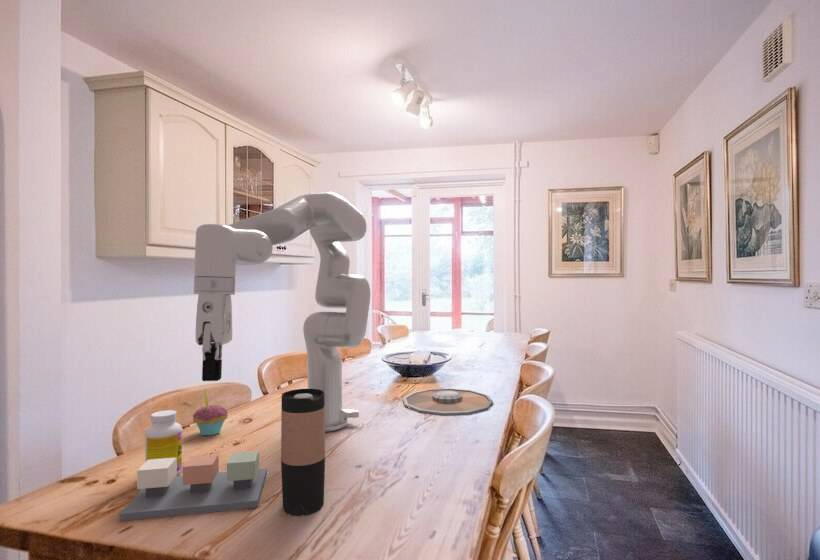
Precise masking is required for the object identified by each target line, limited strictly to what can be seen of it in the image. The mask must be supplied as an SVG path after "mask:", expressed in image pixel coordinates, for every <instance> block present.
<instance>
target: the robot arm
mask: <svg viewBox="0 0 820 560" xmlns="http://www.w3.org/2000/svg"><path fill="white" fill-rule="evenodd" d="M366 221H367V220H366V219H365V217H364V215H363V213H362V212H361V211H360V210H359V209H357V208H356V207H355V206H354V205H353V204H352V203H351V202H349V201H348V200H347V199H346V198H344V196H341V195H339V194H338V193H335V192H332V191H326V192H316V193H308V194H307V193H306V194H302V195H298V196H297V197H295V198H293V199H292V200H289V201H288V202H285V203H283V204H281V205H279V206H277V207H275V208H273V209H270V210H267V211H265V212H261V213H259V214H256V215H253V216H249V217H247V218H244V219H240V220H238V221H236V222H233V223H231V224H228V225H225V224H218V223H217V224H216V223H206V224H201V225H199V226H198V227H197V228H196V232H195V246H194V270H193V271H194V275H193V295H197V303H196V305H197V306H196V318H195V343H196V344H197V345H198V346H202V347H201V352H202V366H201V369H202V370H201V380H202V382H218V381H220V380H222V368H223V367H222V366H223V359H222V357H223V346H225V345H227V344H229V343H230V342H231V341H232V340H233V305H232V295H233V296H234V295H236V293H235V292H236V266H240V265H241V266H248V265H249V266H253V265H255V266H256V265H261V264H262V263H263V264H264V263H265V262H266V261H268V260H269V259H270V258H271V255H272V254H273V251H274V250H273V249H274V247H273V246H275V245H281V244H284V243H288V242H291V241H293V240H294V239H296V238H297V237H300V236H301V235H302V234H304V233H306V232H307V231H308V230H309V233H310V236H311V237H312V240H313V242H314V243H315V245H316V247H317V249H318V252H319V259H320V261H319V267H318V274H317V280H316V286H315V291H314V292H315V294H314V297H315V301H316V304H317V305H318V306H320V307H321V308H322V307H323V308H328V309H345V312H343V311H342V312H340V311H317V312H314V313H311V314H309V316H307V317H306V318H305V320H304V322H303V327H302V331H303V332H302V333H303V336H304V342H305V347H306V348H305V349H306V359H307V360H306V361H307V362H306V363H307V365H306V366H307V367H306V368H307V370H306V371H307V373H306V374H307V385H306V386H307V388H306V389H319V390H322V391H323V392H324V403H325V405H324V406H325V433H326V432H333V431H337V430H341V429H343V428H345V427H347V425H348V421H349V420H348V419H349V418H352V419H355V418H359V415H360V413H359V410H357V409H356V410H354V409H353V408H352V409H346V408H344V405H343V360H342V357H341V355H340V351H338V349H337V347H338V348H356V347H358V346H361V344H362V343H363V341H364V340H365V337H366V332H367V324H368V317H369V310H370V304H371V303H370V302H371V288H370V284H369V281H368V280H367V278H366V277H364V276H363V275H361V274H350V273H349V272H350V265H351V264H350V257H349V254H348V252H347V250H346V249H345V248H344V247H343V246H342V244H341V243H344V242H346V243H347V242H358V241H360V240H361V239H363V238H364V237H365V235H366V233H367V227H368V226H367V222H366Z"/></svg>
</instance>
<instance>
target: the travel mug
mask: <svg viewBox="0 0 820 560" xmlns="http://www.w3.org/2000/svg"><path fill="white" fill-rule="evenodd" d="M324 405H325V403H324V392H323V391H322V390H319V389H307V388H297V389H292V390H288V391H284V392H283V393H282V394H281V416H280V417H281V425H280V426H281V427H280V429H281V430H280V431H281V432H280V433H281V434H280V435H281V437H280V442H281V443H280V445H281V447H280V453H281V454H280V461H281V462H280V464H281V466H280V469H281V470H280V471H281V493H282V496H281V497H282V509H283V511H284V513H285V514H287V515H289V514H290V516H294V515H296V517H300V516H301V517H302V516H303V515H304V516H308V515H312V514H314V513H316V512H318V511H319V510H321V509H322V508H323V506H324V503H325V502H324V501H325V482H326V481H325V477H326V476H325V475H326V472H325V471H326V432H325V406H324Z"/></svg>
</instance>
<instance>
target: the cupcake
mask: <svg viewBox="0 0 820 560" xmlns="http://www.w3.org/2000/svg"><path fill="white" fill-rule="evenodd" d="M203 394H204V399H205V400H204V401H205V406H202V407H201V408H198V409H197V410H196V411H195V412H194V413H193V414H192V420H193V421H192V422H193V423H194V424H196V425H197V427H198V430H199V432H200V435H201V436H203V435H211V436H216V435H218V434H220V433H221V431H222V428H223V424H224V422H225V421H226V420H227V419H228V416H229V415H228V409H226V408H224V407H223V406H221V405H215V404H212V405H209V397H208V392H207V391H206V389H204V393H203ZM219 432H220V433H219ZM217 433H218V434H217ZM215 434H216V435H215Z"/></svg>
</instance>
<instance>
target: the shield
mask: <svg viewBox="0 0 820 560" xmlns="http://www.w3.org/2000/svg"><path fill="white" fill-rule="evenodd" d="M402 402H404V403H403V406H404V405H405V406H406V407H409V408H411V409H410V410H412V409H413V410H412V411H414V410H416V411H415V412H417V411H418V413H419V412H423V413H422V414H427V413H431V414H430V415H436V414H438V416H467V415H473V414H476V413H481V412H485V411H488V410H489V409H490V408H491V407H492V405H494V400H492V398H490V397H489V396H488V395H487V394H484V393H480V392H476V391H474V390H468V389H459V388H458V389H457V388H429V389H423V390H418V391H412V392H410V393H409V394H407V395H406V396H405V395H404V397H402ZM405 406H404V407H405ZM490 406H491V407H490ZM406 407H405V408H406ZM489 407H490V408H489ZM409 408H408V409H409ZM488 408H489V409H488ZM480 411H481V412H480Z"/></svg>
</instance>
